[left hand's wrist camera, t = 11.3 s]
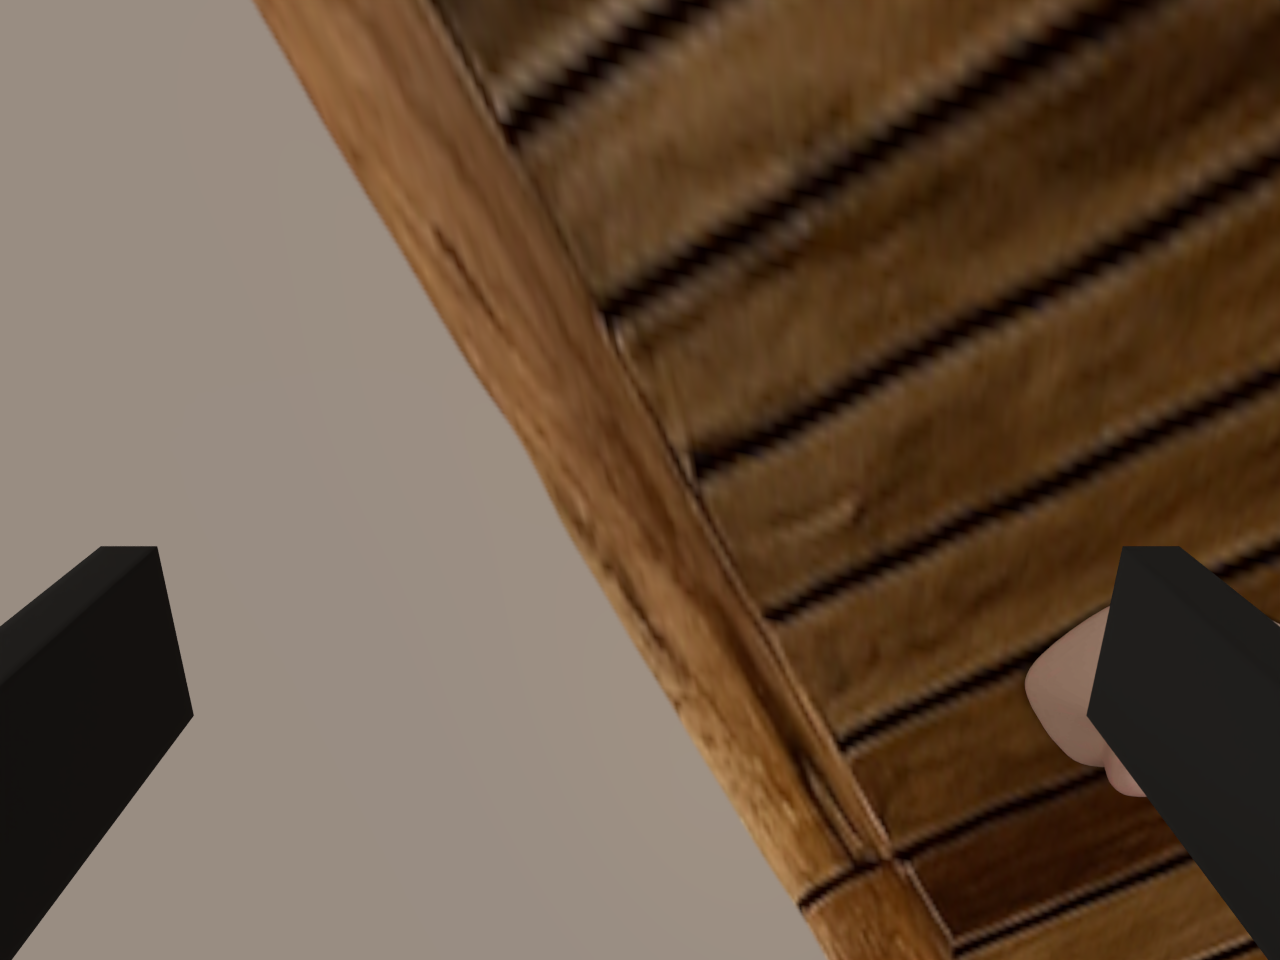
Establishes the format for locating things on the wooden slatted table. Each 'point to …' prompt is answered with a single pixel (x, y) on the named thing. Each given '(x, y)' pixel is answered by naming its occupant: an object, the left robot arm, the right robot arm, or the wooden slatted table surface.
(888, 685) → the wooden slatted table surface
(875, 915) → the wooden slatted table surface
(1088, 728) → the anatomical model
